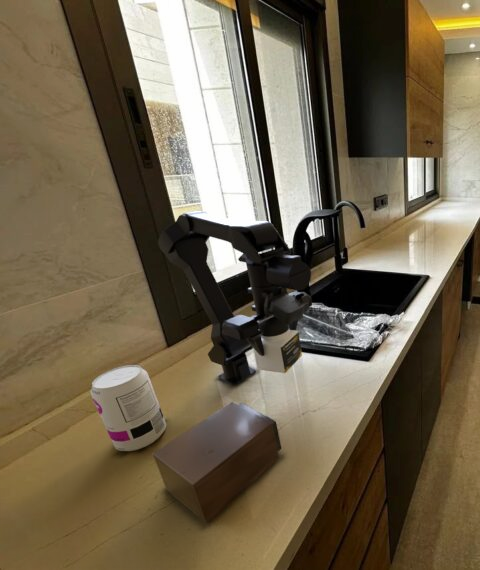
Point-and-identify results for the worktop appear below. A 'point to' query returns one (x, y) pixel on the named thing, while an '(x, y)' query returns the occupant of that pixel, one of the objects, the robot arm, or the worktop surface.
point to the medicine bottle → (278, 346)
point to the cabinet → (217, 459)
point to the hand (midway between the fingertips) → (277, 346)
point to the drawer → (267, 420)
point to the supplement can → (128, 407)
